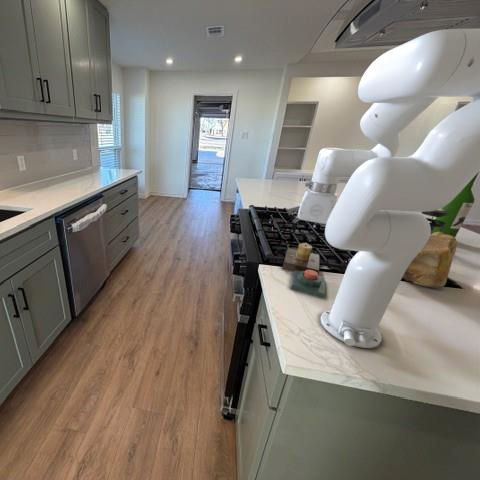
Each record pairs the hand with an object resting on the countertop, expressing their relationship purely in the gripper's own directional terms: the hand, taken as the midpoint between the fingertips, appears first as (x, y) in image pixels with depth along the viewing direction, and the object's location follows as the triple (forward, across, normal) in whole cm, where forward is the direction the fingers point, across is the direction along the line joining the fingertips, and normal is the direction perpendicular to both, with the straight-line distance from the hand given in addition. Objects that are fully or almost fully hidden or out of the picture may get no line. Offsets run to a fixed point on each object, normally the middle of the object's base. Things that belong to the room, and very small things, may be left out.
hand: (308, 235), depth 90 cm
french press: (+6, +45, +51) cm, 68 cm away
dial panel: (+12, 0, 0) cm, 12 cm away
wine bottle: (+13, +57, +69) cm, 90 cm away
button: (+9, +3, -14) cm, 17 cm away
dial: (+9, 0, 0) cm, 9 cm away
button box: (+12, +3, -14) cm, 19 cm away
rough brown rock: (+12, +35, +16) cm, 40 cm away
